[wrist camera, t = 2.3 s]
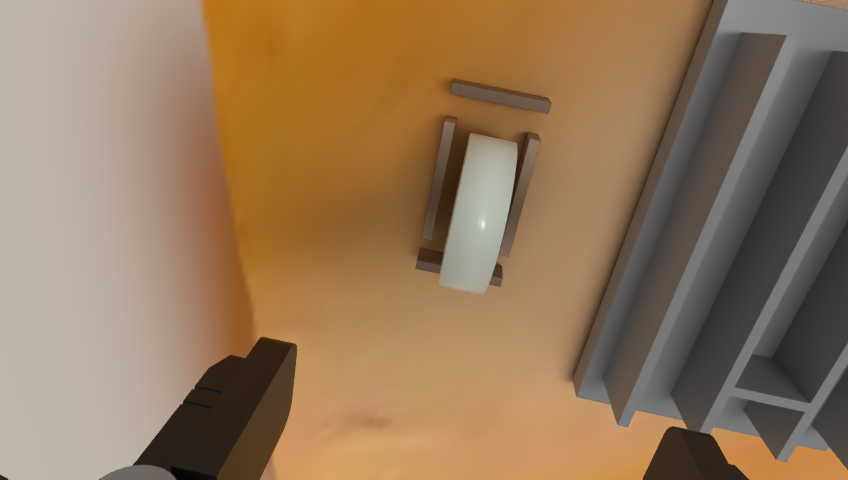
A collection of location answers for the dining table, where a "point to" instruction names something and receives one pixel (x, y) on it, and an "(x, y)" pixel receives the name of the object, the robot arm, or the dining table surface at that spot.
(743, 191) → the rack
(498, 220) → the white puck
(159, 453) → the robot arm
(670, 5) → the dining table surface
